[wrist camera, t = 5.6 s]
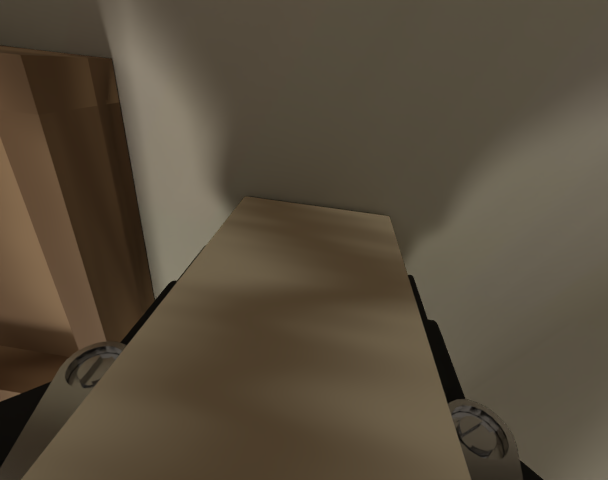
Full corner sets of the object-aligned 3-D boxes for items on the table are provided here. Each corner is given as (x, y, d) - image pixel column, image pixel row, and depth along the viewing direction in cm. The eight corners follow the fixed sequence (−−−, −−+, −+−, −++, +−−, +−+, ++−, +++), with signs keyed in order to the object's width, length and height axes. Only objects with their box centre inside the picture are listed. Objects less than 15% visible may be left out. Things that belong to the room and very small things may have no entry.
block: (389, 216, 11) (522, 642, 3) (361, 324, 13) (387, 715, 5) (244, 196, 11) (-21, 532, 3) (244, 306, 13) (96, 651, 5)
